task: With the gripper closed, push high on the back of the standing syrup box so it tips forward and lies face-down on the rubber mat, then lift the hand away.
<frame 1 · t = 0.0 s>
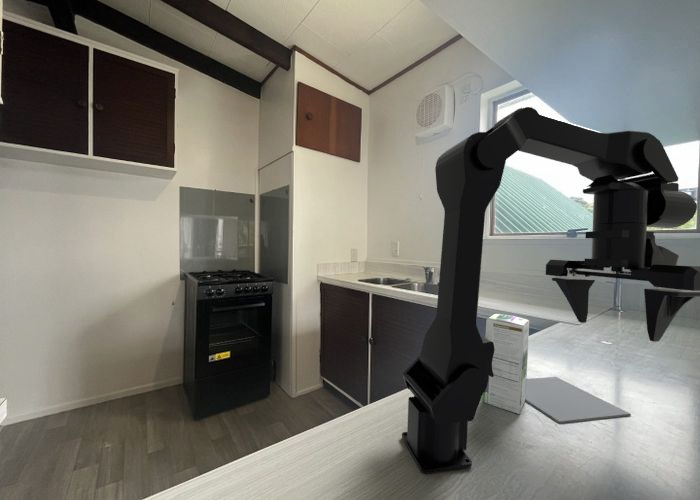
hand: (614, 330, 41), 15 cm above the counter, fingers open, 9 cm apart
mat: (557, 397, 50), on the counter
syrup box: (504, 403, 47), on the counter
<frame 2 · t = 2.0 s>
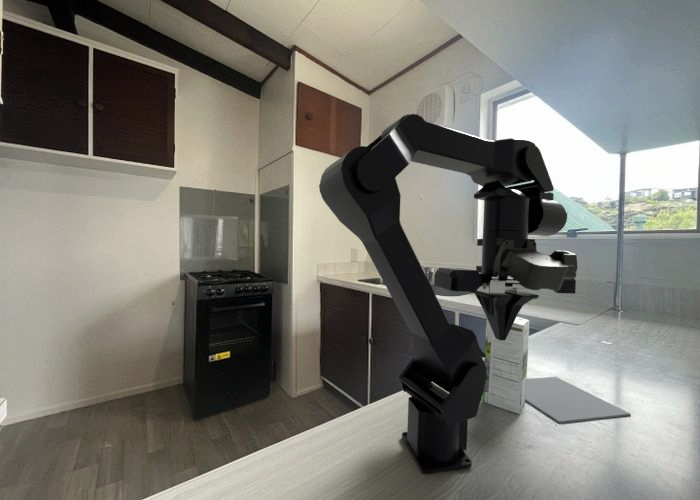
hand: (500, 339, 40), 13 cm above the counter, fingers closed
nothing on the counter moved.
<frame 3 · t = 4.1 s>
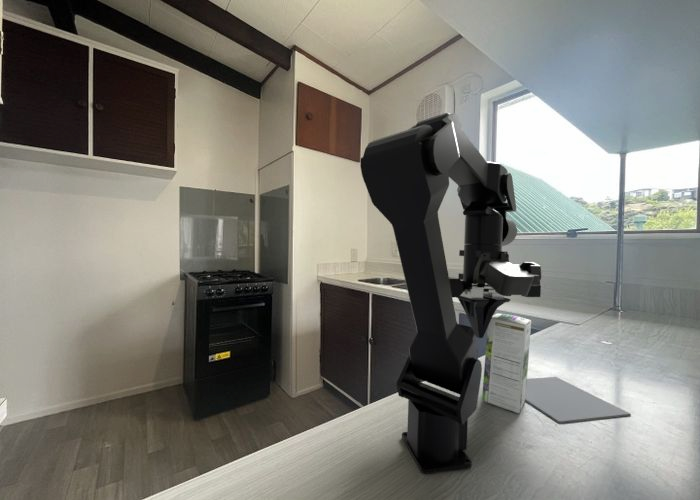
hand: (479, 337, 46), 11 cm above the counter, fingers closed
syrup box: (504, 402, 47), on the counter, touching gripper
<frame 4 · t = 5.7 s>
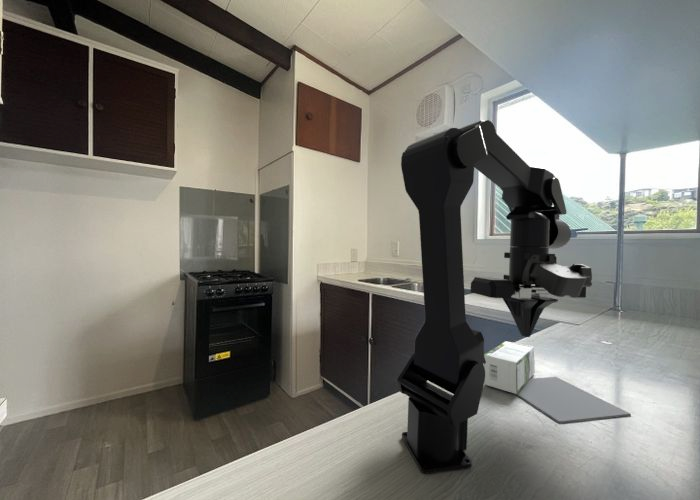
hand: (525, 336, 48), 11 cm above the counter, fingers closed
syrup box: (499, 374, 51), point 3 cm above the counter, touching mat
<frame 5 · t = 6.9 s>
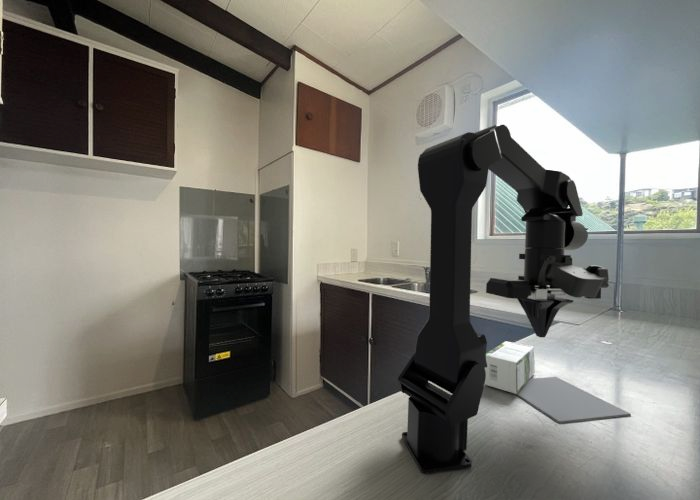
hand: (540, 336, 49), 11 cm above the counter, fingers closed
nothing on the counter moved.
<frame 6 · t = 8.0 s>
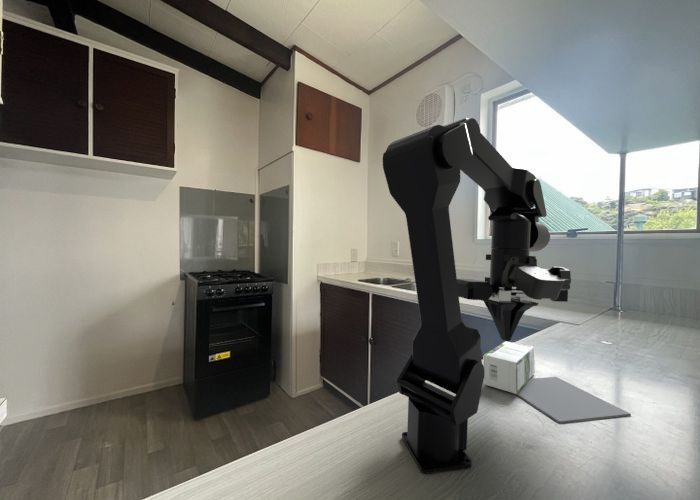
hand: (505, 340, 47), 11 cm above the counter, fingers closed
nothing on the counter moved.
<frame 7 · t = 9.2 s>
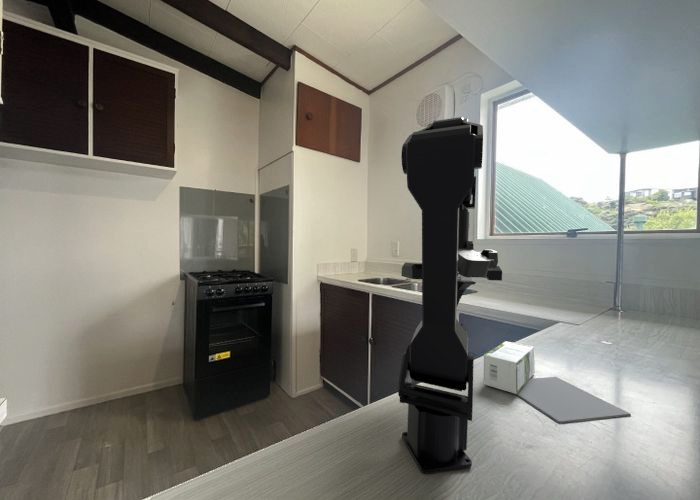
hand: (449, 315, 54), 13 cm above the counter, fingers closed
nothing on the counter moved.
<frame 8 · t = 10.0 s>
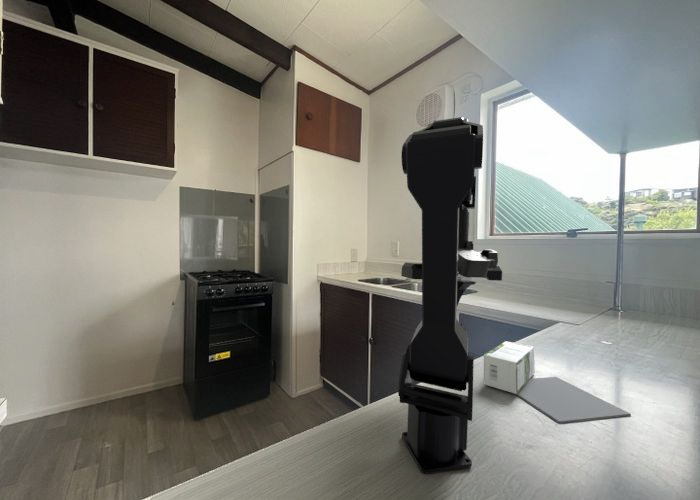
hand: (449, 315, 54), 13 cm above the counter, fingers closed
nothing on the counter moved.
at the end: syrup box tilted 91°; syrup box inside the target area (5.4 cm from its centre), point 3.2 cm above the counter; syrup box touching mat, counter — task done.
